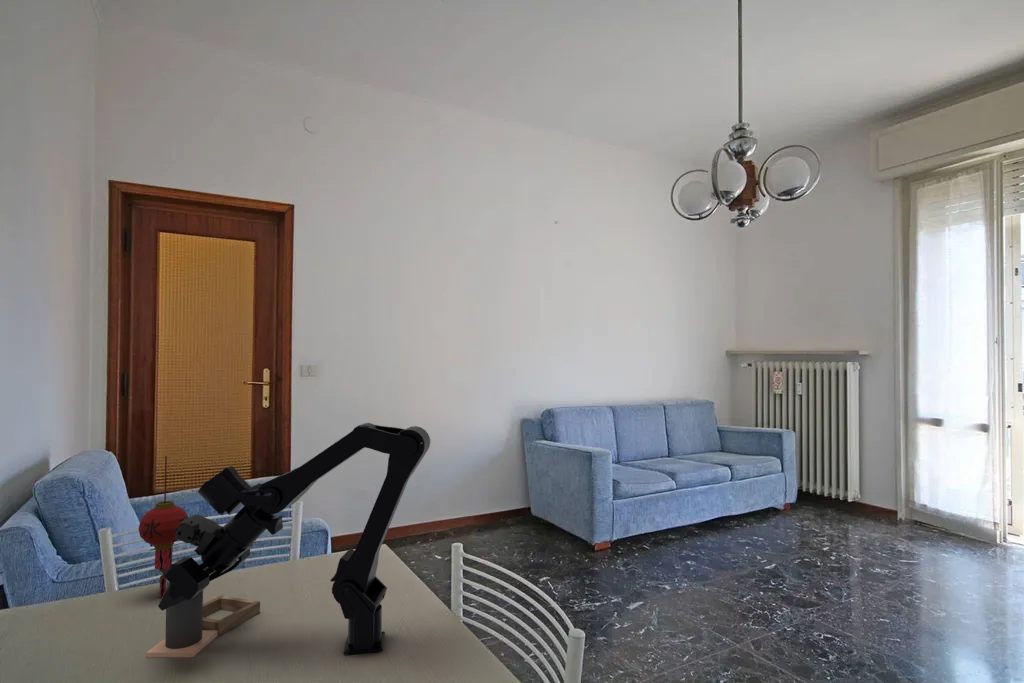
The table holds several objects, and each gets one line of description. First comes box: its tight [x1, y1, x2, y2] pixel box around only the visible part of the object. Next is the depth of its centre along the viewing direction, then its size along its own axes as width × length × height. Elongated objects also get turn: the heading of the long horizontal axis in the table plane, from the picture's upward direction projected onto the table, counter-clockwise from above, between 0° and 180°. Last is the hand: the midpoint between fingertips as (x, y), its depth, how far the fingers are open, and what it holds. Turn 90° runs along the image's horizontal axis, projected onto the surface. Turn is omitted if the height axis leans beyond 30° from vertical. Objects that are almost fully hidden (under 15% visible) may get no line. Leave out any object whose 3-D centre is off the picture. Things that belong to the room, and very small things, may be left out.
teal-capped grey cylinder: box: [164, 579, 204, 649], centre depth 98 cm, size 6×6×12 cm
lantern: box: [138, 455, 189, 598], centre depth 120 cm, size 10×10×30 cm
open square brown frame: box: [202, 595, 261, 636], centre depth 108 cm, size 10×10×2 cm
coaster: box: [145, 630, 219, 659], centre depth 98 cm, size 8×8×1 cm
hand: (177, 597), depth 98 cm, fingers open, 9 cm apart
